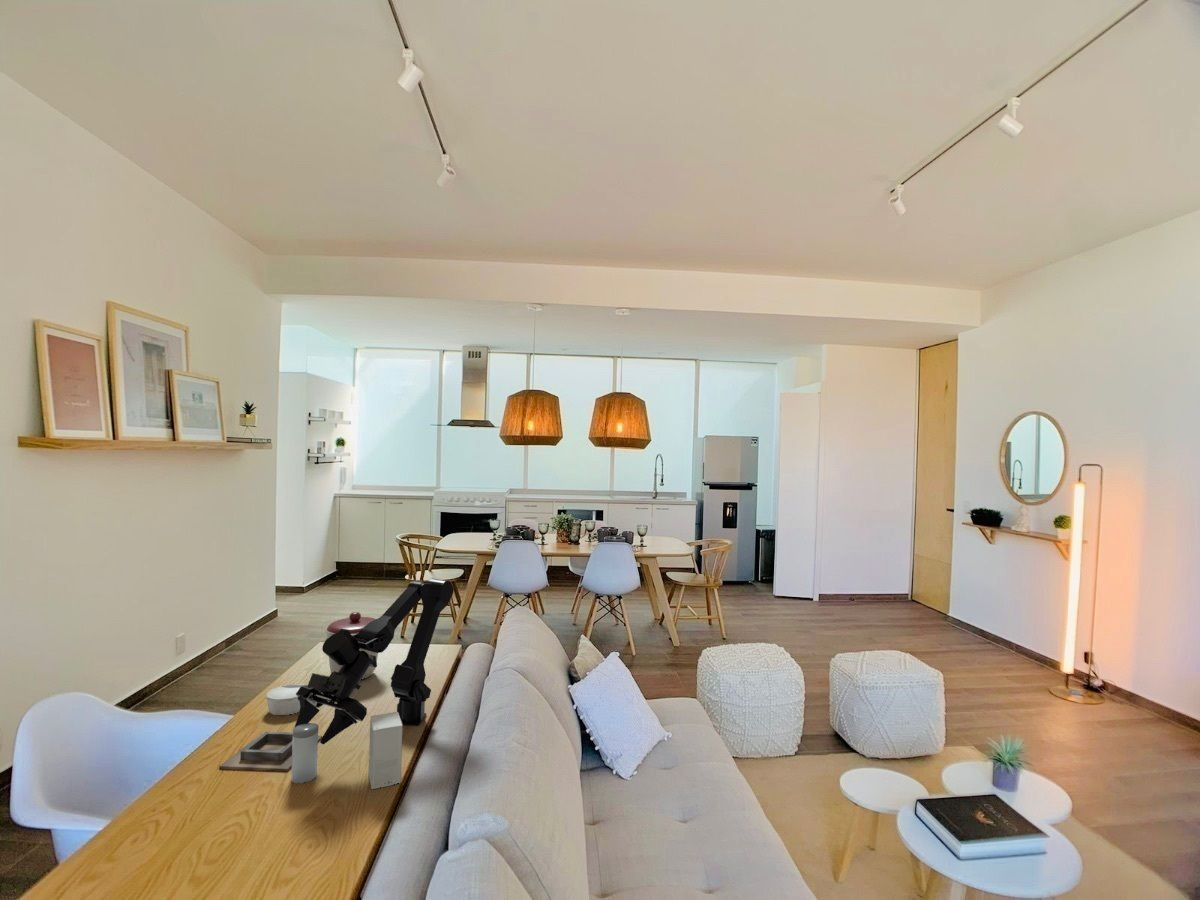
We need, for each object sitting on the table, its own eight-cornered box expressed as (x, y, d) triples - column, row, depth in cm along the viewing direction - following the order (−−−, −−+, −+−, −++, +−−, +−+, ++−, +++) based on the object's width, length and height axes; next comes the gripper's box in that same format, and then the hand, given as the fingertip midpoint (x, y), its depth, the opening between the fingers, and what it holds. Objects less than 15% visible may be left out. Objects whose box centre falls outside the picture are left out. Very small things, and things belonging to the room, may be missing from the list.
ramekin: (312, 699, 173) (313, 681, 174) (306, 715, 163) (307, 696, 163) (270, 703, 170) (271, 685, 170) (261, 720, 159) (262, 701, 159)
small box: (401, 783, 130) (403, 725, 130) (370, 790, 127) (372, 730, 128) (396, 766, 137) (398, 710, 138) (368, 772, 135) (369, 715, 135)
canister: (321, 690, 180) (324, 621, 181) (323, 670, 197) (325, 607, 197) (383, 682, 188) (386, 617, 188) (380, 663, 204) (382, 603, 204)
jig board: (322, 738, 150) (322, 728, 150) (287, 771, 134) (287, 760, 134) (261, 735, 150) (261, 725, 150) (219, 768, 134) (219, 757, 134)
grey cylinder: (321, 771, 134) (322, 723, 135) (309, 783, 129) (311, 734, 129) (299, 770, 134) (300, 722, 135) (286, 783, 129) (288, 733, 129)
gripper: (304, 651, 142) (258, 714, 132) (358, 665, 134) (314, 733, 123) (330, 674, 149) (289, 735, 139) (384, 688, 140) (344, 754, 130)
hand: (307, 738), depth 133 cm, fingers open, 9 cm apart
